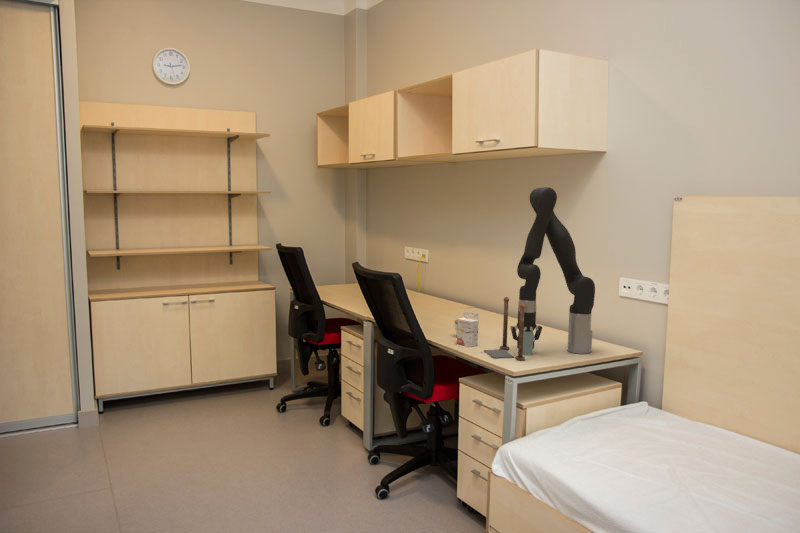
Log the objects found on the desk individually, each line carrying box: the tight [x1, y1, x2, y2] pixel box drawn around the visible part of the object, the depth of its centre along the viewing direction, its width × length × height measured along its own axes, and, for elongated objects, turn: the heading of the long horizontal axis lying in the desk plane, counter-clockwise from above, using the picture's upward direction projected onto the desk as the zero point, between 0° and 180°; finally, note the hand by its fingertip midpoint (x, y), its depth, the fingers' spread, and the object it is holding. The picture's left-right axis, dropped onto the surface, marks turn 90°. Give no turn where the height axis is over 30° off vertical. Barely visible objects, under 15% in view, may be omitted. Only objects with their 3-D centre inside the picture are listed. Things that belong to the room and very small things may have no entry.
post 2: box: [514, 304, 526, 362], centre depth 246 cm, size 4×4×23 cm
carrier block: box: [523, 331, 534, 356], centre depth 257 cm, size 4×4×10 cm
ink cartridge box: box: [456, 310, 479, 348], centre depth 271 cm, size 9×5×15 cm, turn 48°
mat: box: [483, 349, 515, 359], centre depth 255 cm, size 9×12×1 cm
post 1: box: [499, 296, 510, 351], centre depth 264 cm, size 4×4×23 cm
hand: (525, 349), depth 257 cm, fingers closed on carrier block, 4 cm apart
